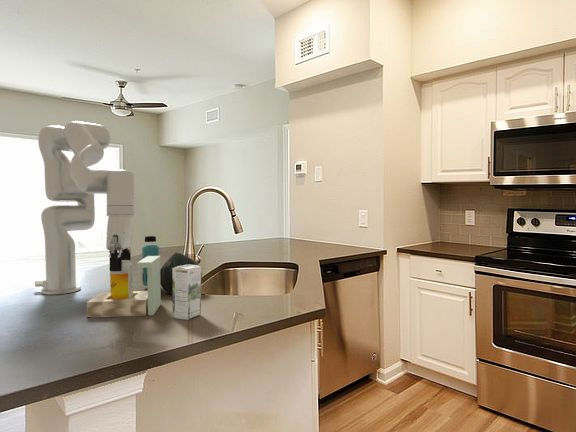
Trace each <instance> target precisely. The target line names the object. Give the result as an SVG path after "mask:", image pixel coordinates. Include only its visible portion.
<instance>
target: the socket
mask: <svg viewBox="0 0 576 432" xmlns="http://www.w3.org/2000/svg"><path fill="white" fill-rule="evenodd" d="M147 315H148V290H137V291H136V290H133V298H132V299H111V291H107V292H105V291H103V292H102V291H101V292H100V293H98V294H97V295H95V296H93V297H92V298H90V299H89V300H88V301H86V318H87V317H95V318H113V317H117V318H119V317H134V316H135V317H137V316H138V317H140V316H142V317H143V316H147Z"/></svg>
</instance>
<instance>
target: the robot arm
mask: <svg viewBox="0 0 576 432" xmlns="http://www.w3.org/2000/svg"><path fill="white" fill-rule="evenodd" d="M37 139H38V141H37V142H38V149H39V152H40V154H41V157H42V160H43V165H44V187H45V188H44V189H45V191H44V192H45V195H46V198H47V199H48V200H49V201H51V202H60V203H61V202H63V203H64V202H66V203H68V202H69V203H70V202H71V203H74V202H75V203H77V205H69V204H68V205H67V204H65V205H62V204H61V205H51V206H48V207H46V208H44V209H43V211H41V213H40V214H41V217H40V218H41V224H42V229H43V234H44V248H45V279H44V280H35V282H34V286H35V287H36V288H38V287H39V288H40V287H42V289H41V291H40V293H41V294H42V295H48V296H49V295H50V296H51V295H52V296H53V295H55V296H57V295H65V294H71V293H75V292H78V291H80V290H81V288H82V287H81V285H80V284H77V275H76V274H77V273H76V271H77V270H76V269H77V267H76V242H75V240H74V238H73V237H72V236H71V235H70V234H69V232H74V231H87V230H90V229H92V228H93V227H94V224H95V221H96V220H95V218H96V213H95V209H96V208H95V194H98V195H100V194H101V195H103V194H104V195H106V217H108V218H107V227H106V242H105V243H106V244H105V245H106V246H105V247H106V248H105V249H106V250H107V251H108V252H109V256H108V257H109V272H110V271H121V270H122V260H130V261H131V260H132V256H131V255H132V253H131V251H132V250H131V246H132V242H133V241H132V238H133V237H132V236H133V233H132V232H133V230H132V226H133V225H132V217H134V216H135V174H134V172H133V171H132V170H128V169H105V168H93V167H92V168H90V167H91V166H94V165H96V164H98V163H99V162H100V161H101V160H103V157H104V155H105V151H104V150H105V149H107V148H108V147H109V145H110V143H111V134H110V132H109V130H108V128H107V127H105V126H104V125H102V124H99V123H98V124H97V123H91V122H84V121H80V120H79V121H78V120H77V121H76V120H75V121H69V122H68V123H66V124H64V126H61V125H47V126H44V127H42V128H40V130H39V132H38V138H37ZM64 152H71V153H73V154H74V155H73V157H72V158H71V160H69V158H68V157H67V155H66V154H65V153H64Z"/></svg>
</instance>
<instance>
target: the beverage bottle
mask: <svg viewBox="0 0 576 432" xmlns="http://www.w3.org/2000/svg"><path fill="white" fill-rule="evenodd" d="M144 242H145V243H154V242H157V237H156V235H155V236H154V235H147V236H144ZM141 253H142V255H141V260H142V259H144V258H145V257H147V256H160V246H158V245H157V244H145V245H143V246H142V248H141ZM141 270H142V273H141V274H142V275H141V276H142V277H141V280H142V285H143V286H144V287H148V285H147V268H141Z"/></svg>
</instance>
